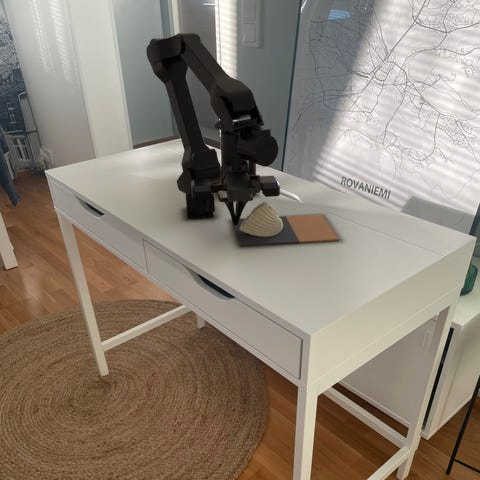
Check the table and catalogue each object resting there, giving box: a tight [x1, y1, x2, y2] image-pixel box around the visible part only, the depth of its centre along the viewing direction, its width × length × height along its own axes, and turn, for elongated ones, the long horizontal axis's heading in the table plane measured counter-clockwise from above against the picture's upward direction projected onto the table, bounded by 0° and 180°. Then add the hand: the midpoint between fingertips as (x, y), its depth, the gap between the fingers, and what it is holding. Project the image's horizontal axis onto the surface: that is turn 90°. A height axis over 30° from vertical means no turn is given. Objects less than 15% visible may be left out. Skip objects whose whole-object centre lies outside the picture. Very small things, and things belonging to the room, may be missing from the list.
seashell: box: [240, 201, 283, 237], centre depth 109 cm, size 8×8×8 cm
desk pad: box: [233, 213, 340, 248], centre depth 112 cm, size 22×14×1 cm, turn 98°
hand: (235, 224), depth 109 cm, fingers closed
